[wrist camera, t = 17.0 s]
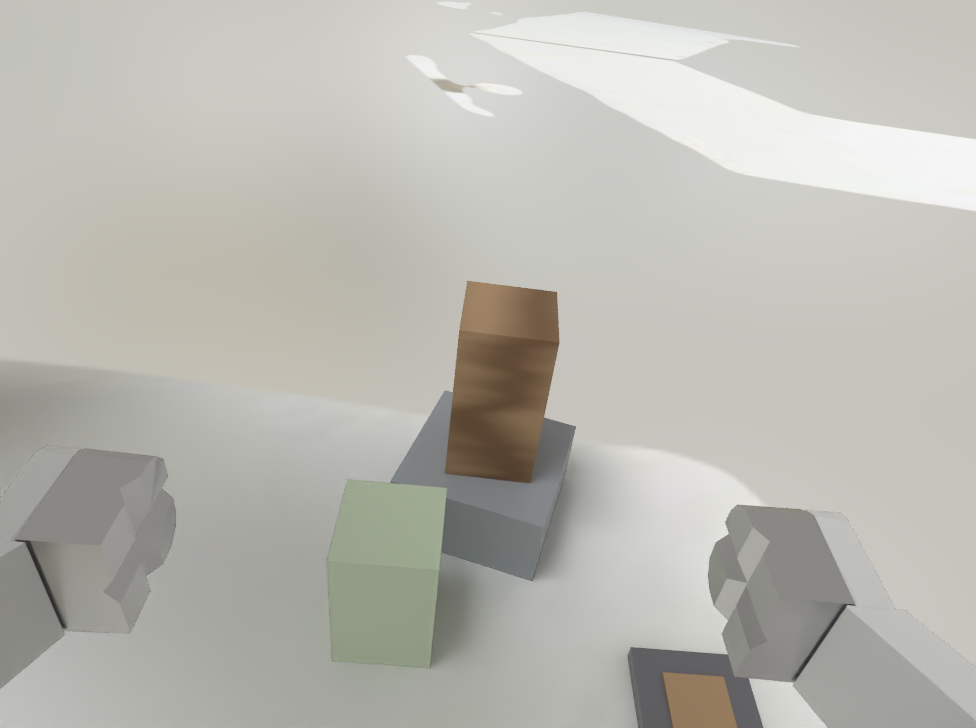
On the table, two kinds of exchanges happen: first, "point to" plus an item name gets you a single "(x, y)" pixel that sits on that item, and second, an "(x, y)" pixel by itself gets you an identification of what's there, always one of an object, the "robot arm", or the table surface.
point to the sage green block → (385, 573)
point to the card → (689, 691)
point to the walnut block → (501, 381)
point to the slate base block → (491, 497)
